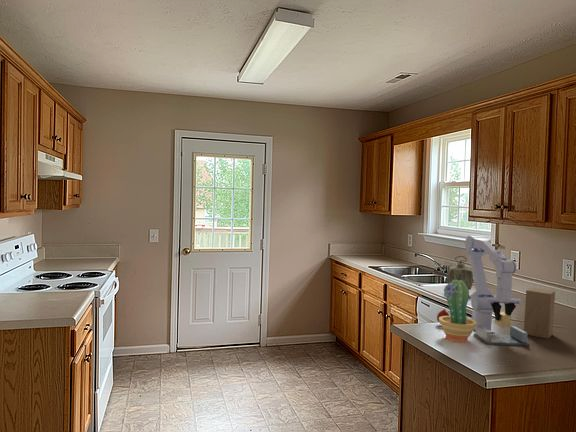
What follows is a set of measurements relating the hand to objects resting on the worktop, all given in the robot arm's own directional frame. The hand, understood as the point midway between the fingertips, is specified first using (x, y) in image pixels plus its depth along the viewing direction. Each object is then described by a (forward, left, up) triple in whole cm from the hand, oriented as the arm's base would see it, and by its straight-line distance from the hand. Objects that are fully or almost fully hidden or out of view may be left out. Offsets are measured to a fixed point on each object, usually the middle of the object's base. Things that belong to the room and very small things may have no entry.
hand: (502, 320), depth 192 cm
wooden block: (-12, +23, -9) cm, 27 cm away
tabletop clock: (-97, +21, -9) cm, 100 cm away
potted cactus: (0, -19, -9) cm, 21 cm away
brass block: (0, 0, -2) cm, 2 cm away
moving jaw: (0, +7, -8) cm, 11 cm away
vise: (0, 0, -9) cm, 9 cm away
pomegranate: (-21, -17, -9) cm, 29 cm away
